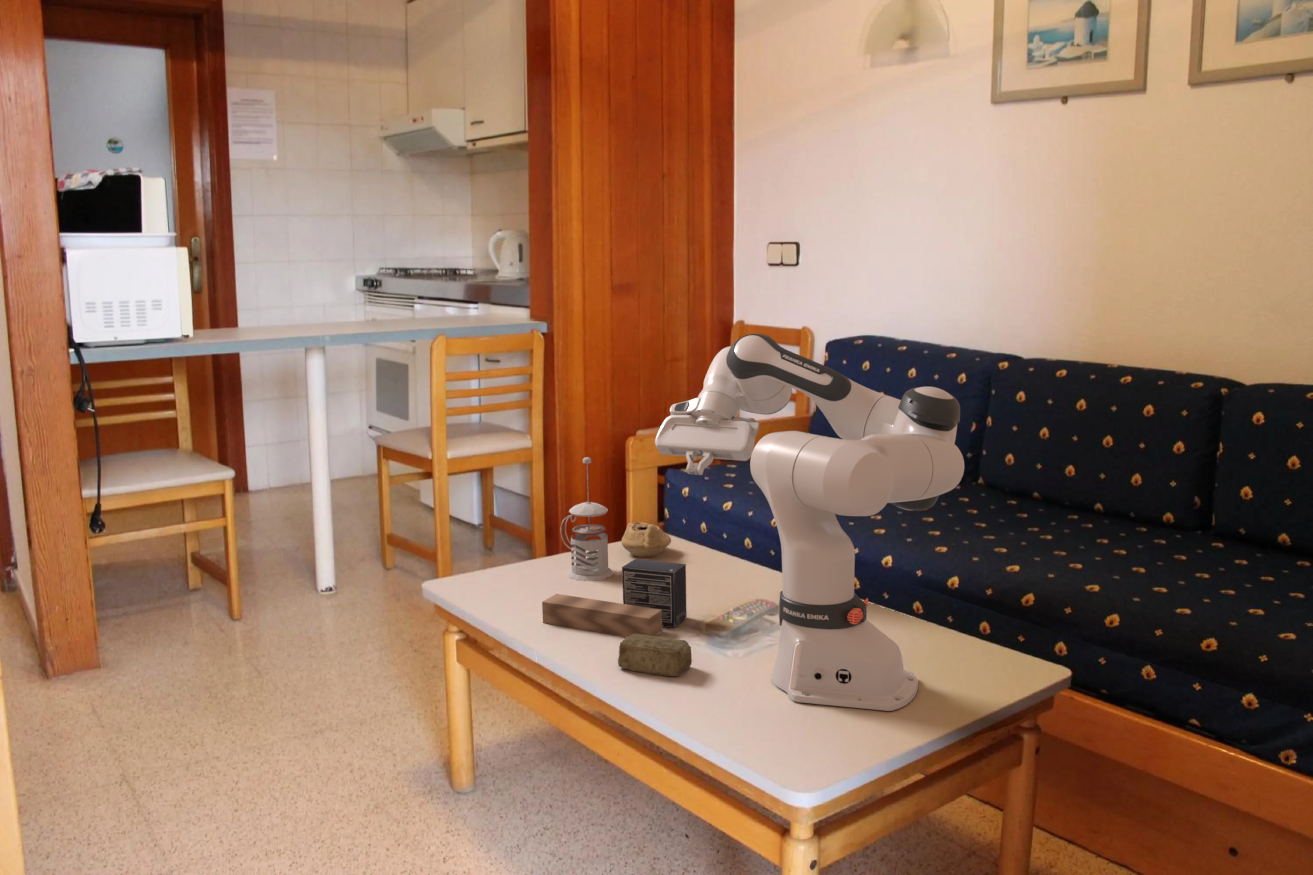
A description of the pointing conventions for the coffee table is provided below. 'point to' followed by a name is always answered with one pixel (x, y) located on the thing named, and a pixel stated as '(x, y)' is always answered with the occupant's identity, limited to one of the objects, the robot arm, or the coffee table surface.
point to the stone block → (654, 655)
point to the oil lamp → (645, 539)
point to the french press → (588, 542)
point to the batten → (601, 616)
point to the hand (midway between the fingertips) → (693, 472)
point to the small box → (656, 588)
